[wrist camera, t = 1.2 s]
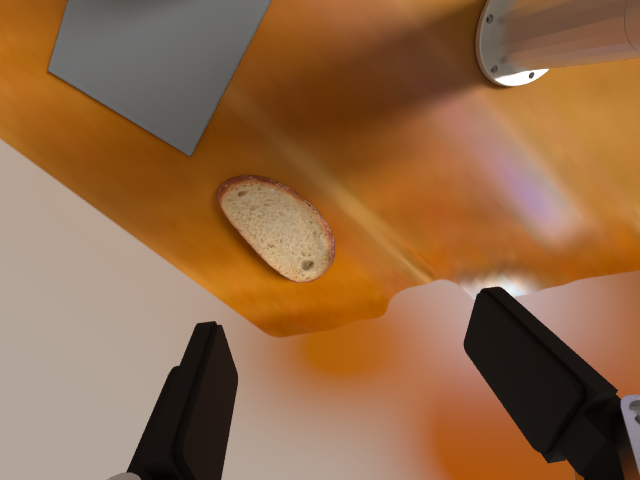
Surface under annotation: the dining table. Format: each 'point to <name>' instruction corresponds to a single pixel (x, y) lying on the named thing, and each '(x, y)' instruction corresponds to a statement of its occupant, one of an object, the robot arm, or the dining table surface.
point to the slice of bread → (279, 226)
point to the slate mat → (156, 58)
